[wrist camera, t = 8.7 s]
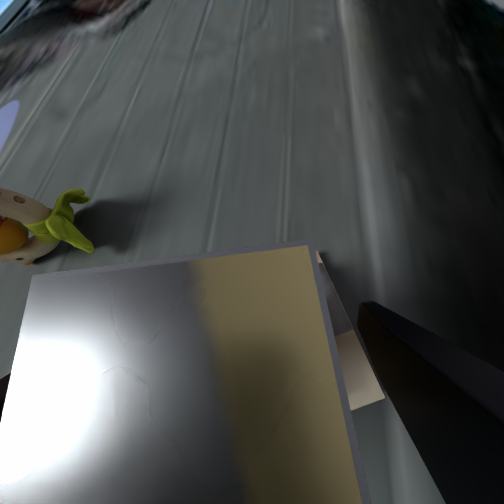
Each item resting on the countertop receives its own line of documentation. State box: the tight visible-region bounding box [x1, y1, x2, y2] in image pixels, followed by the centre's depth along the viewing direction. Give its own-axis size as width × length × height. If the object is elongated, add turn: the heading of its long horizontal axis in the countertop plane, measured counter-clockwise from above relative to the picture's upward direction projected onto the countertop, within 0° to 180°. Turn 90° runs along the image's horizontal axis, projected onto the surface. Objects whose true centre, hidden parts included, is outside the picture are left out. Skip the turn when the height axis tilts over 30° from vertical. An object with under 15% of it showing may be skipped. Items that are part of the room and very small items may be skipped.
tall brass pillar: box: [0, 239, 371, 504], centre depth 9 cm, size 5×5×13 cm
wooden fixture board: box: [316, 251, 385, 411], centre depth 15 cm, size 10×14×3 cm
